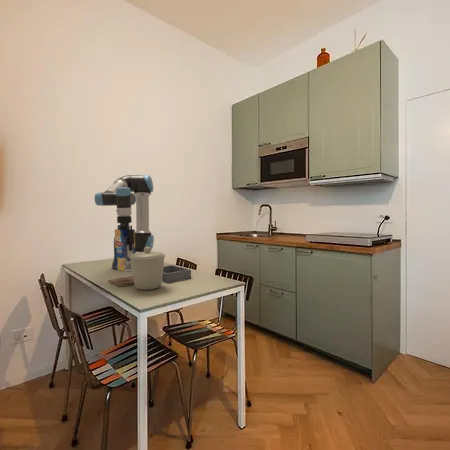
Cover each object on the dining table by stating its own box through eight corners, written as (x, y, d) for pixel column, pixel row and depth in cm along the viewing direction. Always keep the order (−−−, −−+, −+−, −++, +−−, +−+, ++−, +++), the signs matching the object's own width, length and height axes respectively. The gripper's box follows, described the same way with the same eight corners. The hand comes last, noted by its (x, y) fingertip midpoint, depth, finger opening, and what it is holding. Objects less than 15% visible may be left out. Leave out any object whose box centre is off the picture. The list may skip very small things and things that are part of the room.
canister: (143, 294, 137) (142, 250, 136) (123, 288, 149) (121, 247, 148) (173, 286, 151) (172, 246, 150) (152, 281, 162) (151, 243, 161)
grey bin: (149, 277, 173) (149, 268, 173) (172, 272, 184) (172, 265, 183) (166, 283, 158) (166, 274, 158) (191, 278, 169) (190, 269, 169)
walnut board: (108, 281, 163) (108, 280, 163) (132, 277, 172) (132, 276, 172) (119, 287, 151) (119, 285, 151) (144, 282, 160) (144, 280, 160)
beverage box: (127, 266, 167) (126, 228, 166) (136, 269, 159) (134, 229, 158) (115, 268, 163) (114, 229, 162) (123, 271, 155) (122, 230, 153)
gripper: (109, 215, 166) (110, 254, 167) (126, 216, 148) (127, 258, 149) (122, 215, 171) (123, 252, 172) (140, 215, 153) (141, 257, 154)
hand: (125, 255), depth 161 cm, fingers closed on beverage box, 11 cm apart
